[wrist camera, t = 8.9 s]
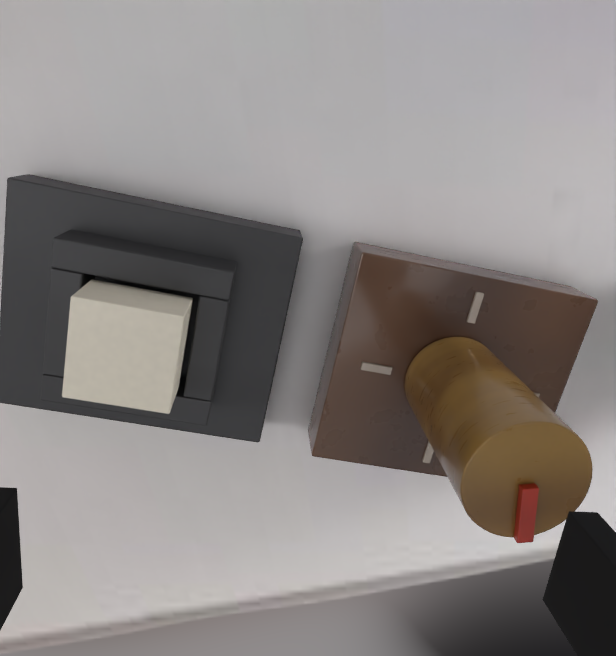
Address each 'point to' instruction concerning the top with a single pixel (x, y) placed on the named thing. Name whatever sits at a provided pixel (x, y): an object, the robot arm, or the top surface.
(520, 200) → the top surface
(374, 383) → the volume panel
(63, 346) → the grey stepped base
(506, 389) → the volume knob
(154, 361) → the cream square push button
